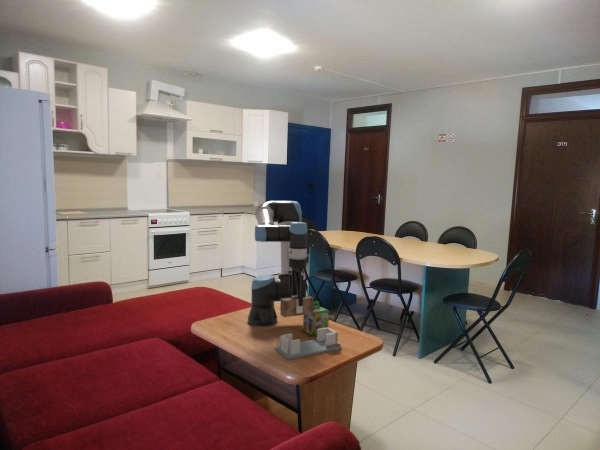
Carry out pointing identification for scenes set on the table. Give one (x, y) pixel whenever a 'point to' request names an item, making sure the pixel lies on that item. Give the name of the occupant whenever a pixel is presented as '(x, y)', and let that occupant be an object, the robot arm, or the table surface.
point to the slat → (290, 306)
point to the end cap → (327, 336)
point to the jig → (302, 347)
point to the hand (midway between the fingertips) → (296, 311)
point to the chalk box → (316, 320)
